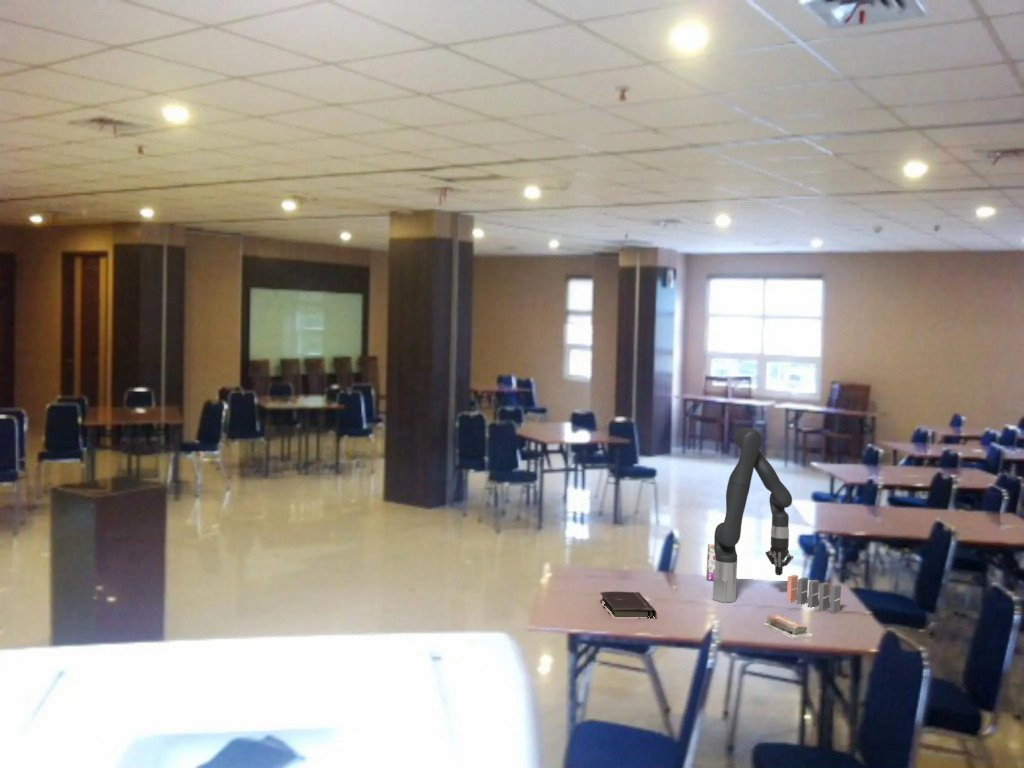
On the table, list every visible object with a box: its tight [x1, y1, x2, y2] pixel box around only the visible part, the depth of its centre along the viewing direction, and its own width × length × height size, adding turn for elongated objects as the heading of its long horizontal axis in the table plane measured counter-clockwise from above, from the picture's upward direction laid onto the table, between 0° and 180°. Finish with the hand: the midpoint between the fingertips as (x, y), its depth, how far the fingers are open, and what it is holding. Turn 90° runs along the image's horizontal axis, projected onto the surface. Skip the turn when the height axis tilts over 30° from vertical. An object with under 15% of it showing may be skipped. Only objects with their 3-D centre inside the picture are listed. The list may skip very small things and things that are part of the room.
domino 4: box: [818, 581, 831, 612], centre depth 399 cm, size 2×5×11 cm, turn 134°
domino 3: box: [807, 579, 820, 609], centre depth 403 cm, size 2×5×11 cm, turn 134°
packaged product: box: [762, 613, 814, 640], centre depth 370 cm, size 18×5×10 cm
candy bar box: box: [705, 543, 715, 582], centre depth 441 cm, size 11×5×16 cm, turn 84°
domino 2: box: [796, 576, 809, 606], centre depth 406 cm, size 2×5×11 cm, turn 134°
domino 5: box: [829, 584, 842, 614], centre depth 396 cm, size 2×5×11 cm, turn 133°
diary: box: [599, 591, 658, 618], centre depth 392 cm, size 19×25×5 cm
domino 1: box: [786, 574, 799, 603], centre depth 410 cm, size 2×5×11 cm, turn 133°
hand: (778, 574), depth 415 cm, fingers closed
